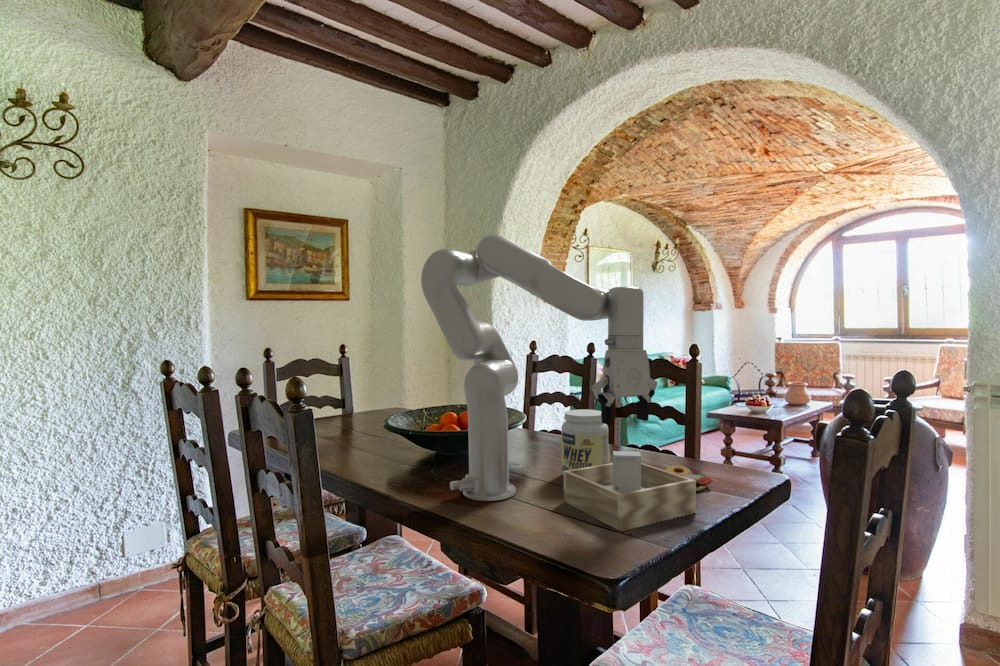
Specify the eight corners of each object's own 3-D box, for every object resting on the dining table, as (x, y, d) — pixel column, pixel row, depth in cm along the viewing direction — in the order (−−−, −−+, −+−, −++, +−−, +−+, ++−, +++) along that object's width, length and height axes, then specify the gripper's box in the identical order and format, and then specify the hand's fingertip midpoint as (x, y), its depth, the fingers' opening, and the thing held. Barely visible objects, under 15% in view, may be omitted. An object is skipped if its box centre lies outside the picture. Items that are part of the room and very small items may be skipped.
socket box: (621, 531, 108) (620, 495, 108) (563, 501, 126) (563, 471, 125) (696, 513, 117) (695, 480, 117) (632, 488, 135) (632, 459, 134)
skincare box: (613, 510, 120) (612, 455, 119) (612, 503, 124) (612, 450, 124) (642, 511, 119) (641, 455, 118) (640, 504, 123) (640, 451, 122)
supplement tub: (554, 479, 143) (553, 414, 142) (571, 468, 154) (570, 407, 153) (600, 485, 137) (599, 417, 137) (614, 473, 148) (613, 410, 147)
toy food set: (675, 475, 146) (675, 463, 146) (721, 487, 135) (721, 474, 135) (642, 485, 138) (642, 472, 138) (688, 498, 127) (688, 484, 127)
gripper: (604, 345, 113) (604, 429, 114) (667, 343, 121) (667, 421, 121) (582, 344, 120) (582, 422, 120) (644, 342, 128) (644, 415, 128)
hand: (625, 422), depth 121 cm, fingers open, 9 cm apart
